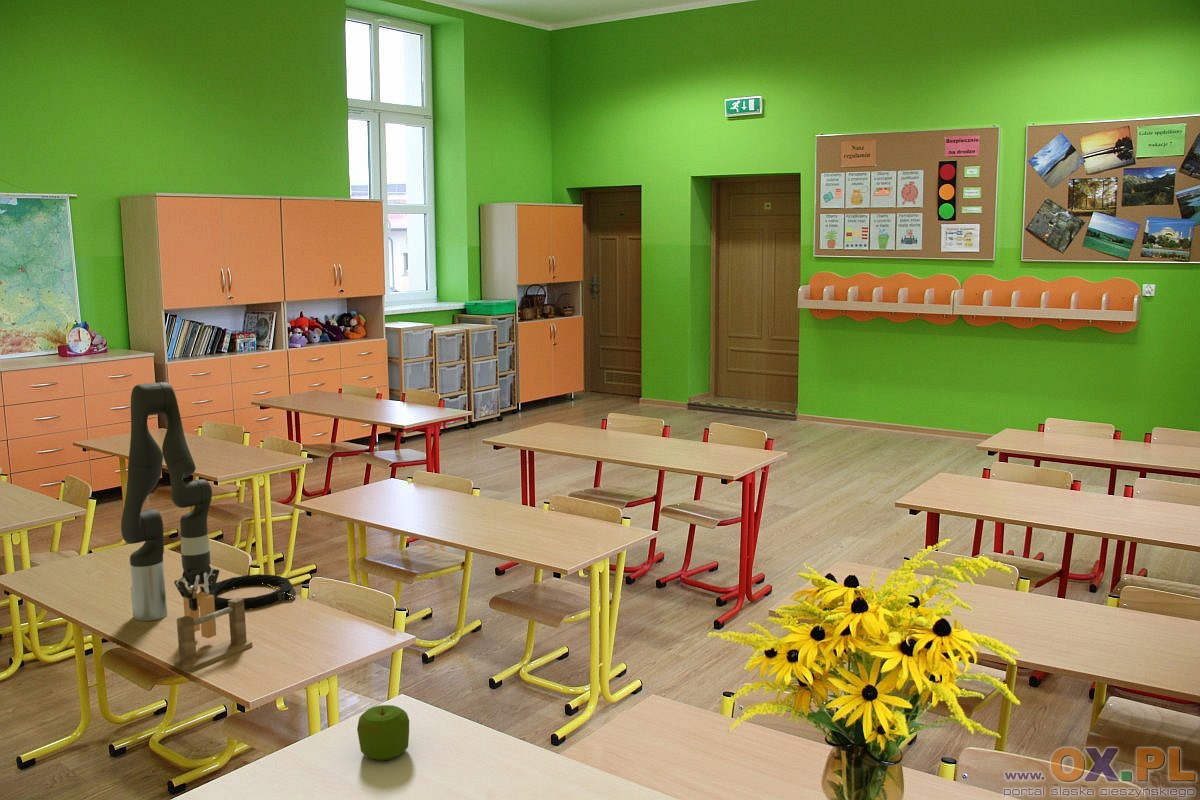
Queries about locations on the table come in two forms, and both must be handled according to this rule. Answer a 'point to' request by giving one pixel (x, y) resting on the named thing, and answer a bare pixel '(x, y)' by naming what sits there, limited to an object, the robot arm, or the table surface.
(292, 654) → the table surface
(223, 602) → the cable lock
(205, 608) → the orange block
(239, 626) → the rail
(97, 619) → the table surface
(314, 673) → the table surface
